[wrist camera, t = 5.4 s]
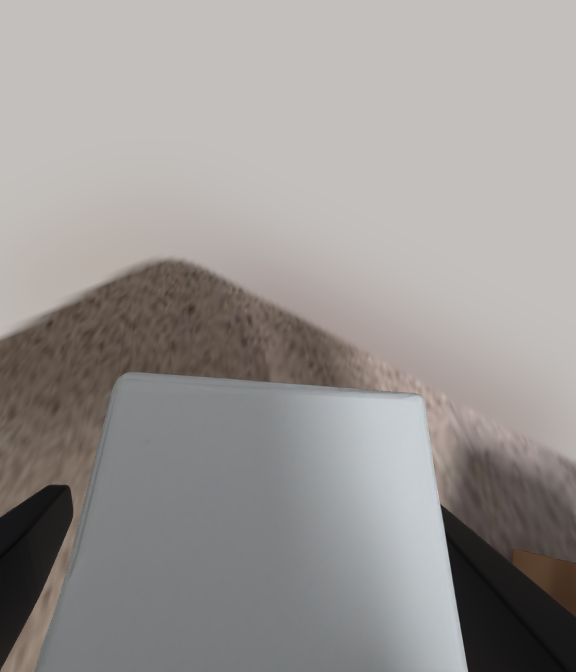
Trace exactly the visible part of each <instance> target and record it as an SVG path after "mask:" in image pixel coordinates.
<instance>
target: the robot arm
mask: <svg viewBox="0 0 576 672" xmlns="http://www.w3.org/2000/svg"><path fill="white" fill-rule="evenodd" d="M440 507H441V513H442V519H443V524H444V530H445V537H446V543H447V549H448V555H449V562H450V568H451V574H452V580H453V586H454V593H455V599H456V605H457V611H458V617H459V622H460V628H461V634H462V640H463V646H464V651H465V657H466V663H467V669H468V672H576V616H575V615H573V614H572V613H571V612H570V611H569V610H567V609H566V608H565V607H564V606H563V605H561V604H560V603H559V602H558V601H557V600H555V599H554V598H553V597H552V596H551V595H549V594H548V593H547V592H546V591H545V590H543V589H542V588H541V587H540V586H538V585H537V584H536V583H535V582H534V581H532V580H531V579H530V578H529V577H528V576H526V575H525V574H524V573H523V572H522V571H520V570H519V569H518V568H517V567H516V566H514V565H513V564H512V563H511V562H510V561H508V560H507V559H506V558H505V557H504V556H502V555H501V554H500V553H499V552H498V551H496V550H495V549H494V548H493V547H492V546H490V545H489V544H488V543H487V542H486V541H484V540H483V539H482V538H481V537H479V536H478V535H477V534H476V533H475V532H473V531H472V530H471V529H470V528H469V527H467V526H466V525H465V524H464V523H463V522H461V521H460V520H459V519H458V518H457V517H455V516H454V515H453V514H452V513H451V512H449V511H448V510H447V509H446V508H445V507H443V506H442V505H441V504H440ZM72 518H73V503H72V496H71V490H70V487H69V486H68V485H48V486H46V487H45V488H43V489H42V490H40V491H39V492H37V493H36V494H34V495H33V496H31V497H30V498H28V499H27V500H25V501H24V502H22V503H21V504H19V505H18V506H16V507H15V508H13V509H12V510H10V511H9V512H7V513H6V514H5V515H3V516H2V517H0V670H1V668H2V666H3V665H4V663H5V661H6V659H7V657H8V655H9V653H10V651H11V650H12V648H13V646H14V644H15V642H16V640H17V638H18V636H19V635H20V633H21V631H22V629H23V627H24V625H25V623H26V621H27V620H28V618H29V616H30V614H31V612H32V610H33V608H34V606H35V604H36V602H37V600H38V598H39V596H40V594H41V592H42V590H43V588H44V585H45V583H46V581H47V578H48V576H49V574H50V571H51V569H52V567H53V564H54V562H55V559H56V557H57V555H58V552H59V550H60V548H61V545H62V543H63V541H64V538H65V536H66V533H67V531H68V529H69V526H70V524H71V521H72Z"/></svg>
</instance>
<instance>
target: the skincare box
mask: <svg viewBox="0 0 576 672" xmlns="http://www.w3.org/2000/svg"><path fill="white" fill-rule="evenodd" d="M35 672H468V669H467V663H466V657H465V651H464V646H463V640H462V634H461V628H460V622H459V617H458V611H457V605H456V599H455V593H454V586H453V580H452V574H451V568H450V562H449V555H448V549H447V543H446V537H445V530H444V524H443V519H442V513H441V507H440V501H439V495H438V489H437V483H436V477H435V471H434V464H433V458H432V451H431V445H430V438H429V432H428V426H427V419H426V408H425V402H424V399H423V397H422V396H421V395H419V394H416V393H404V392H390V391H378V390H366V389H353V388H340V387H328V386H315V385H302V384H287V383H273V382H261V381H250V380H239V379H226V378H212V377H197V376H183V375H168V374H155V373H142V372H128V373H125V374H123V375H122V376H120V377H119V378H118V379H117V381H116V383H115V385H114V387H113V389H112V392H111V396H110V400H109V404H108V408H107V412H106V416H105V420H104V424H103V428H102V432H101V436H100V440H99V444H98V448H97V453H96V457H95V461H94V465H93V469H92V473H91V477H90V481H89V485H88V489H87V493H86V497H85V501H84V504H83V508H82V512H81V516H80V521H79V525H78V529H77V533H76V537H75V541H74V545H73V549H72V553H71V557H70V561H69V565H68V569H67V572H66V576H65V579H64V582H63V586H62V589H61V592H60V596H59V599H58V602H57V606H56V609H55V612H54V615H53V617H52V620H51V623H50V626H49V629H48V632H47V634H46V637H45V640H44V643H43V646H42V649H41V652H40V655H39V659H38V662H37V665H36V669H35Z"/></svg>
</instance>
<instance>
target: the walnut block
mask: <svg viewBox="0 0 576 672" xmlns="http://www.w3.org/2000/svg"><path fill="white" fill-rule="evenodd" d="M512 564H513V565H514V566H516V567H517V568H518V569H519V570H520V571H522V572H523V573H524V574H525V575H526V576H528V577H529V578H530V579H531V580H532V581H534V582H535V583H536V584H537V585H538V586H540V587H541V588H542V589H543V590H545V591H546V592H547V593H548V594H549V595H551V596H552V597H553V598H554V599H555V600H557V601H558V602H559V603H560V604H561V605H563V606H564V607H565V608H566V609H567V610H569V611H570V612H571V613H572V614H573V615H575V616H576V563H572V562H568V561H564V560H560V559H555V558H551V557H547V556H542V555H538V554H534V553H529V552H525V551H521V550H517V549H514V552H513V559H512Z"/></svg>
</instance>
